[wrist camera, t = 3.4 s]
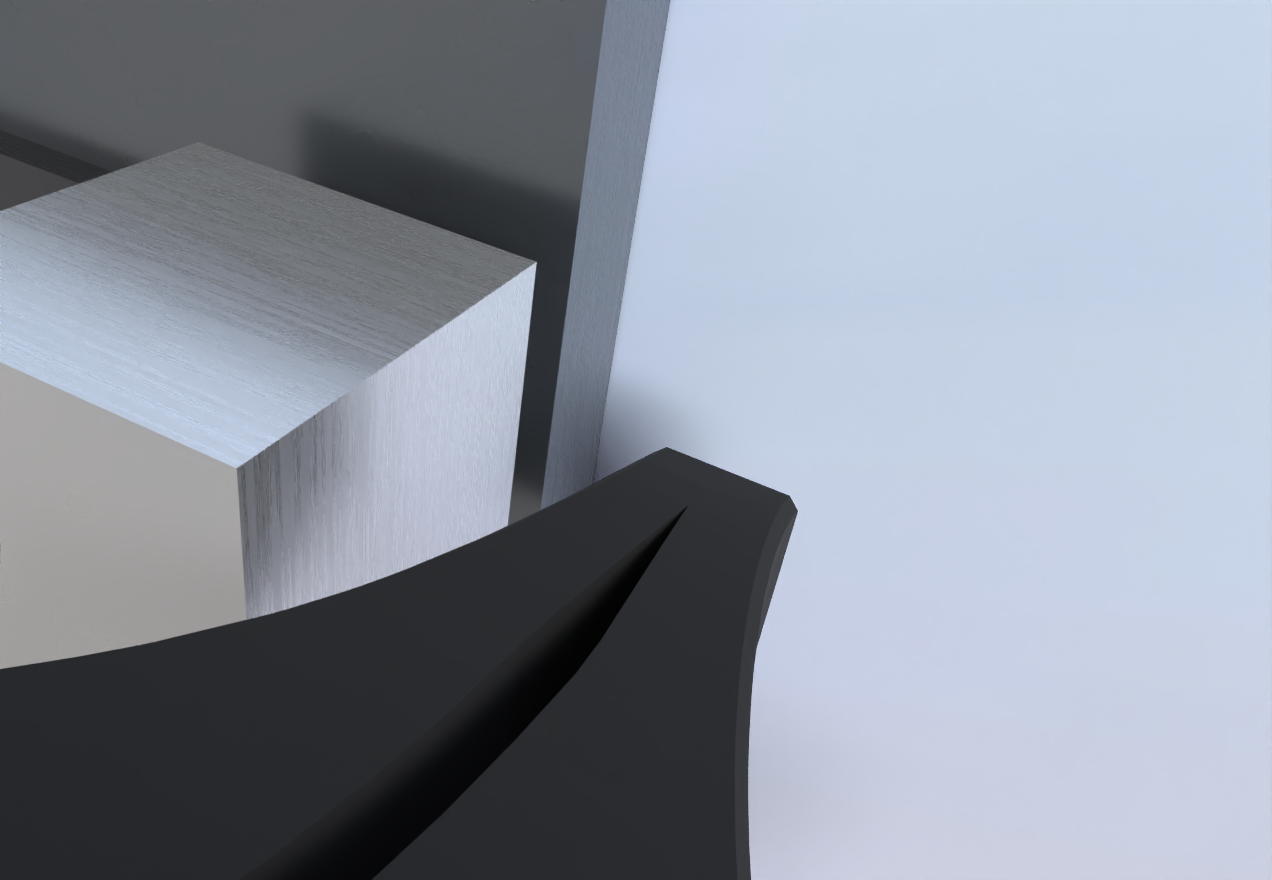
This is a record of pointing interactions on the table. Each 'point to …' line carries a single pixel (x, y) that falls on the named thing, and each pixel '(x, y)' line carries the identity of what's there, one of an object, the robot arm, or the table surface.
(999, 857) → the table surface
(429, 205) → the bolt plate
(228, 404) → the sliding block
